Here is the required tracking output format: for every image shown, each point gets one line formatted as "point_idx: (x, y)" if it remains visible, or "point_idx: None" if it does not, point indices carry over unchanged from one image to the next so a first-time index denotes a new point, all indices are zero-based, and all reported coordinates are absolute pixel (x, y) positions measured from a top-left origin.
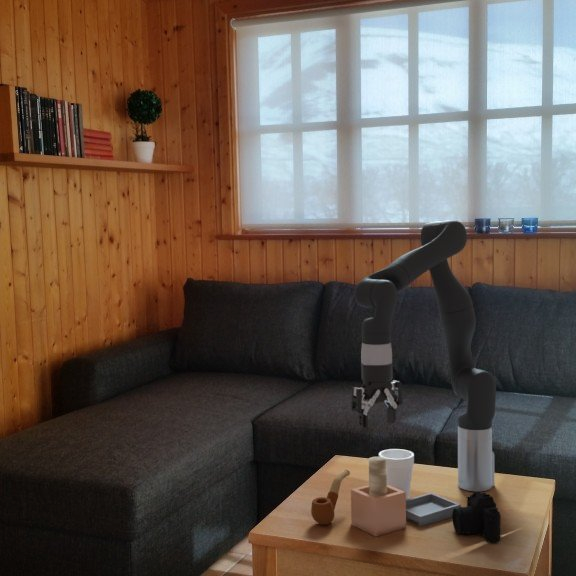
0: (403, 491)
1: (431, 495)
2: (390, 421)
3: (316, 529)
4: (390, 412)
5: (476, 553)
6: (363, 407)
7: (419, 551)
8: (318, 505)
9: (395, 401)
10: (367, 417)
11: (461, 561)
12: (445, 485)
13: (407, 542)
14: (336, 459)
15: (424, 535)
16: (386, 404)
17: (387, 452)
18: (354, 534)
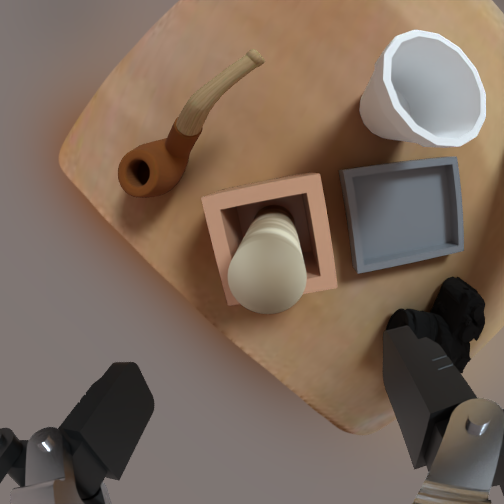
0: (334, 281)
1: (451, 165)
2: (387, 369)
3: None
4: (408, 426)
5: (357, 389)
6: (67, 479)
7: (282, 355)
8: (125, 191)
9: (502, 478)
10: (123, 464)
11: (319, 401)
12: (500, 101)
13: (285, 319)
14: None
15: (333, 305)
16: (441, 444)
17: (424, 40)
18: (205, 242)
